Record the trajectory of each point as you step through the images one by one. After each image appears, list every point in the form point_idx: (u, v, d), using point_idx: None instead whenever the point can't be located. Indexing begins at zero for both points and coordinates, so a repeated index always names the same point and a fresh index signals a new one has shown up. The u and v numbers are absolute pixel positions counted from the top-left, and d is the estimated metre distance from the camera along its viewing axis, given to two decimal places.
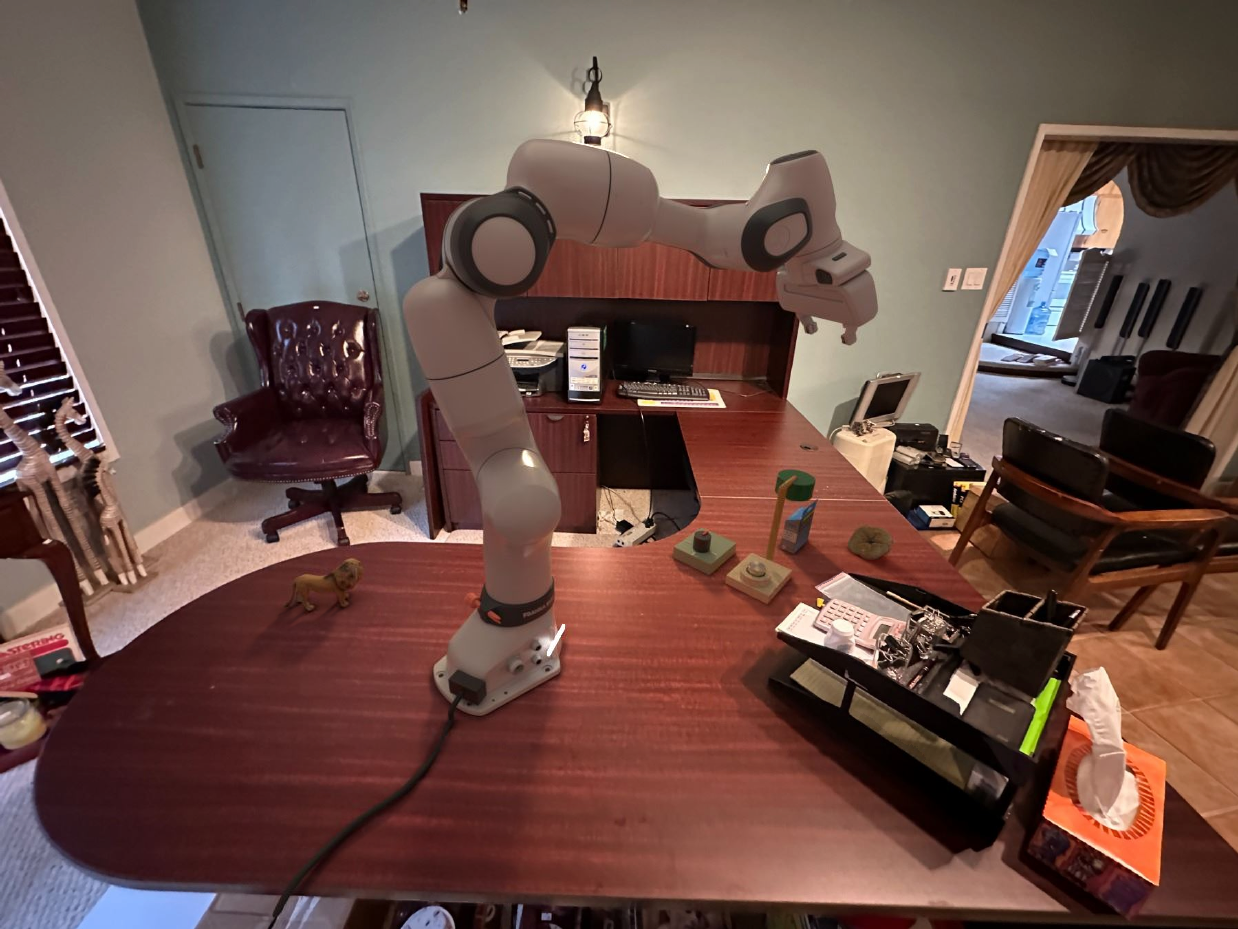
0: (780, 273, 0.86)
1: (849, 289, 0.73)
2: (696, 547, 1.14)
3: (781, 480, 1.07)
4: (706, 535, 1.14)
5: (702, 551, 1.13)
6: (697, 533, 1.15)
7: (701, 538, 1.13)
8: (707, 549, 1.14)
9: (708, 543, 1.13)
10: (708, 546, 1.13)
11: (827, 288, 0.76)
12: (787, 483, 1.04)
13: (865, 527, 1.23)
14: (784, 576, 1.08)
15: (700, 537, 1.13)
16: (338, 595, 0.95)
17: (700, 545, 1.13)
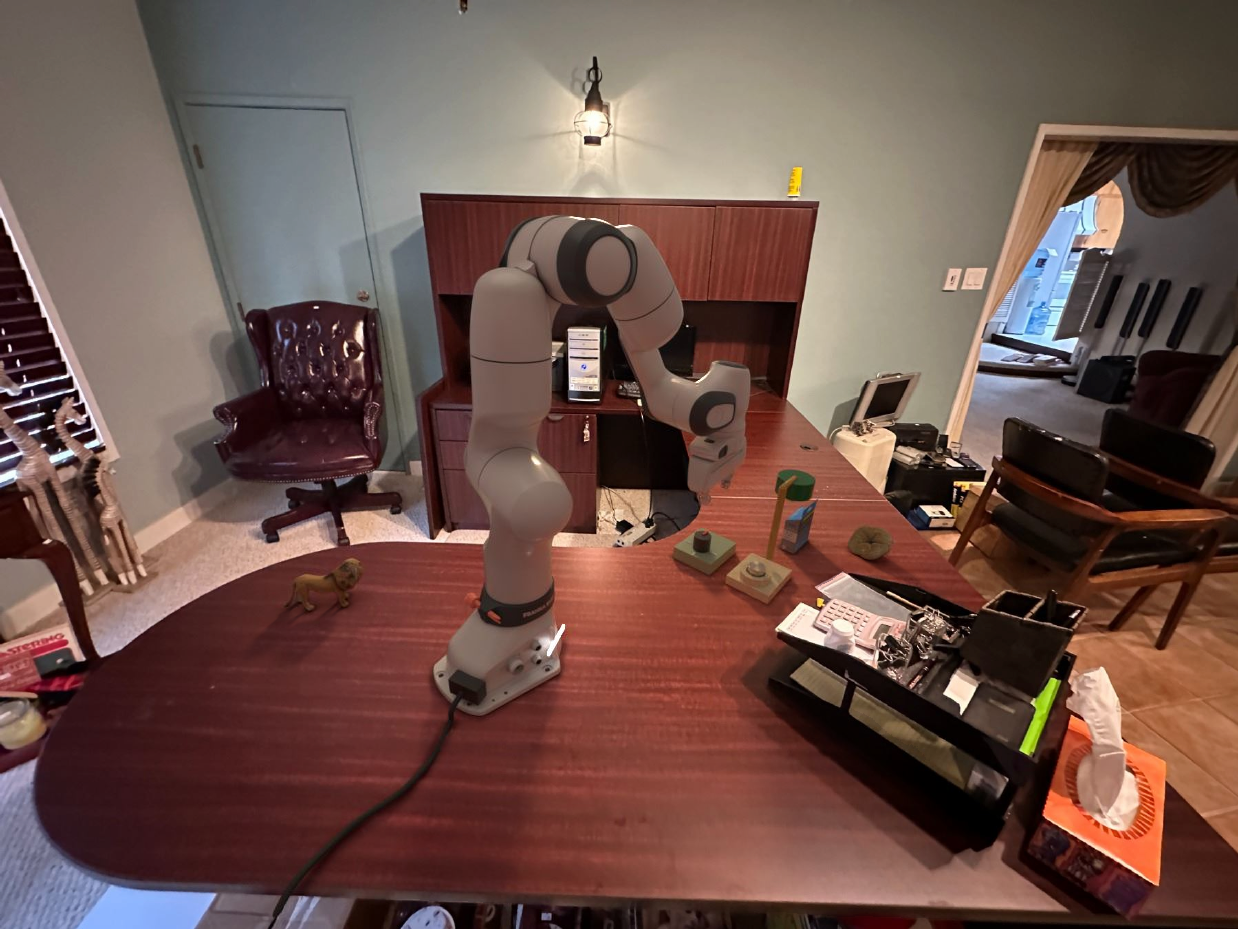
0: None
1: (691, 461, 0.99)
2: (696, 547, 1.14)
3: (781, 480, 1.07)
4: (706, 535, 1.14)
5: (702, 551, 1.13)
6: (697, 533, 1.15)
7: (701, 538, 1.13)
8: (707, 549, 1.14)
9: (708, 543, 1.13)
10: (708, 546, 1.13)
11: None
12: (787, 483, 1.04)
13: (865, 527, 1.23)
14: (784, 576, 1.08)
15: (700, 537, 1.13)
16: (338, 595, 0.96)
17: (700, 545, 1.13)
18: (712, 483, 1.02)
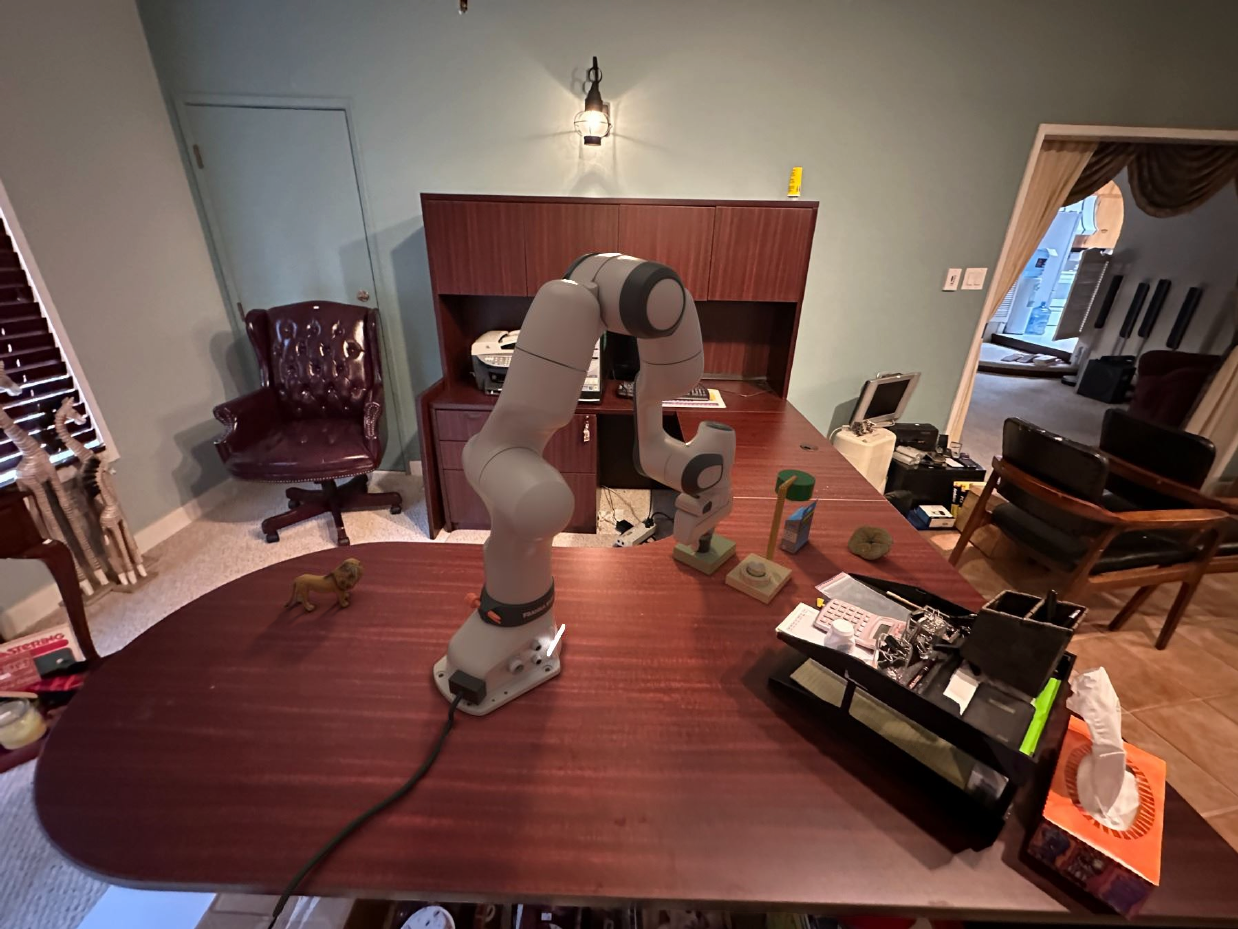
0: None
1: (677, 514, 1.05)
2: None
3: (781, 480, 1.07)
4: (706, 535, 1.14)
5: (702, 551, 1.13)
6: None
7: (701, 538, 1.13)
8: (707, 549, 1.14)
9: (708, 543, 1.13)
10: (708, 546, 1.13)
11: None
12: (787, 483, 1.04)
13: (865, 527, 1.23)
14: (784, 576, 1.08)
15: (700, 537, 1.13)
16: (338, 595, 0.96)
17: None
18: (697, 535, 1.07)
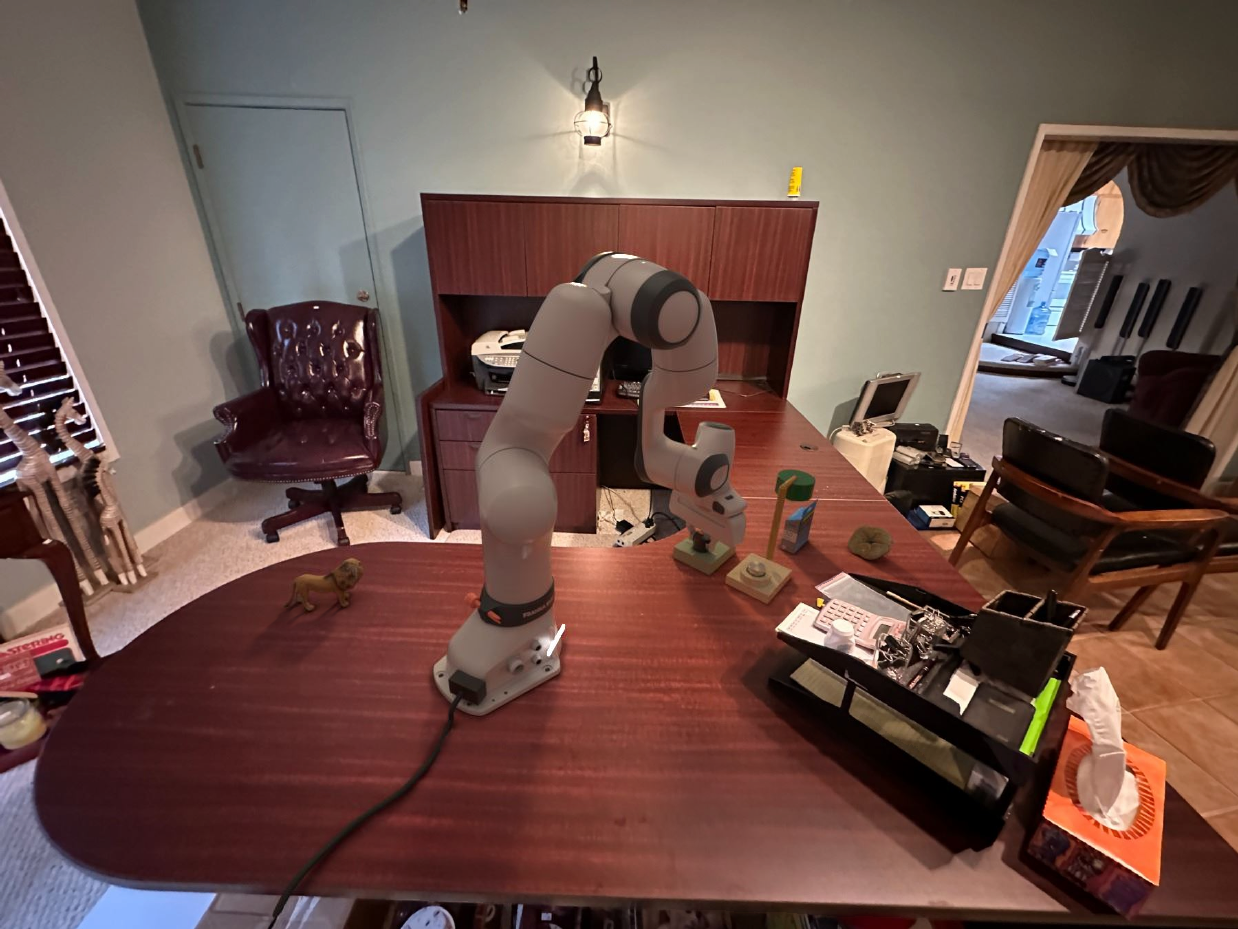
0: None
1: (733, 522, 1.03)
2: None
3: (781, 480, 1.07)
4: (703, 533, 1.15)
5: None
6: (698, 537, 1.13)
7: (708, 537, 1.13)
8: None
9: None
10: None
11: (717, 515, 1.05)
12: (787, 483, 1.04)
13: (865, 527, 1.23)
14: (784, 576, 1.08)
15: (706, 537, 1.13)
16: (338, 595, 0.96)
17: None
18: None
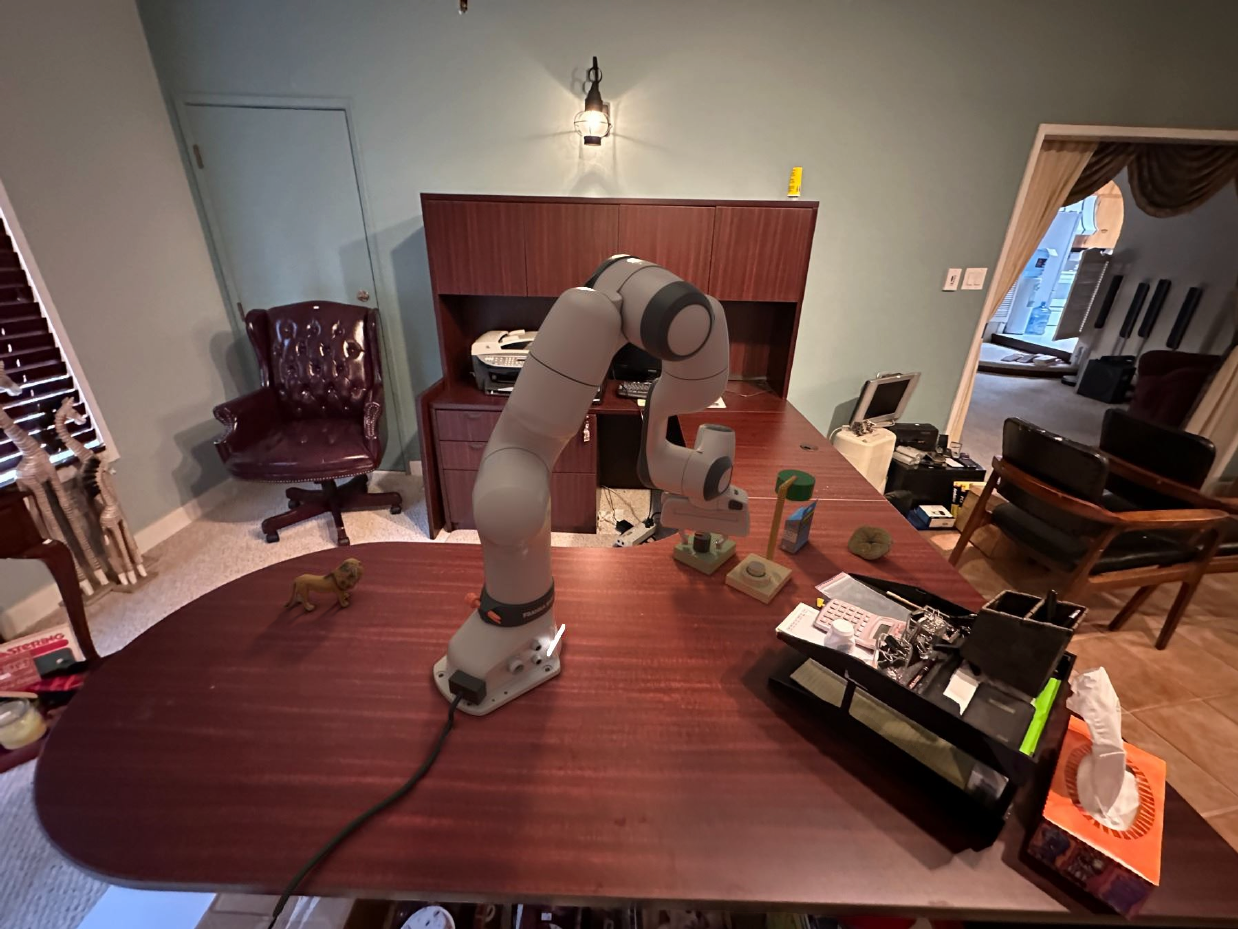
0: (673, 500, 1.10)
1: (749, 513, 1.08)
2: None
3: (781, 480, 1.07)
4: None
5: None
6: (702, 538, 1.13)
7: (709, 535, 1.14)
8: None
9: None
10: None
11: (732, 512, 1.07)
12: (787, 483, 1.04)
13: (865, 527, 1.23)
14: (784, 576, 1.08)
15: (707, 535, 1.14)
16: (338, 595, 0.96)
17: None
18: None
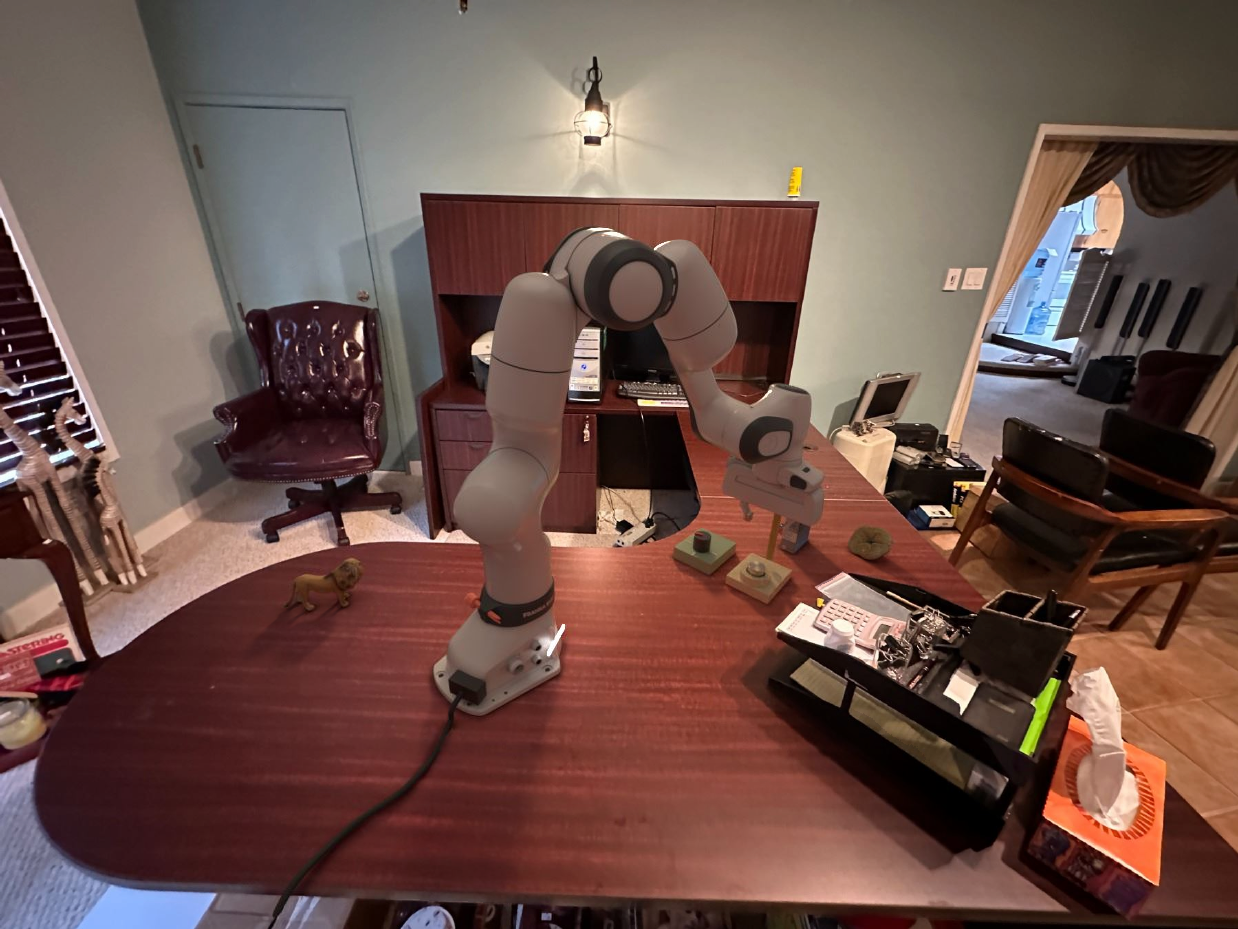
0: (736, 465, 1.00)
1: (815, 497, 0.91)
2: None
3: None
4: None
5: None
6: (702, 538, 1.13)
7: (709, 535, 1.14)
8: None
9: None
10: None
11: (795, 491, 0.92)
12: None
13: (865, 527, 1.23)
14: (784, 576, 1.08)
15: (707, 535, 1.14)
16: (338, 595, 0.96)
17: None
18: None
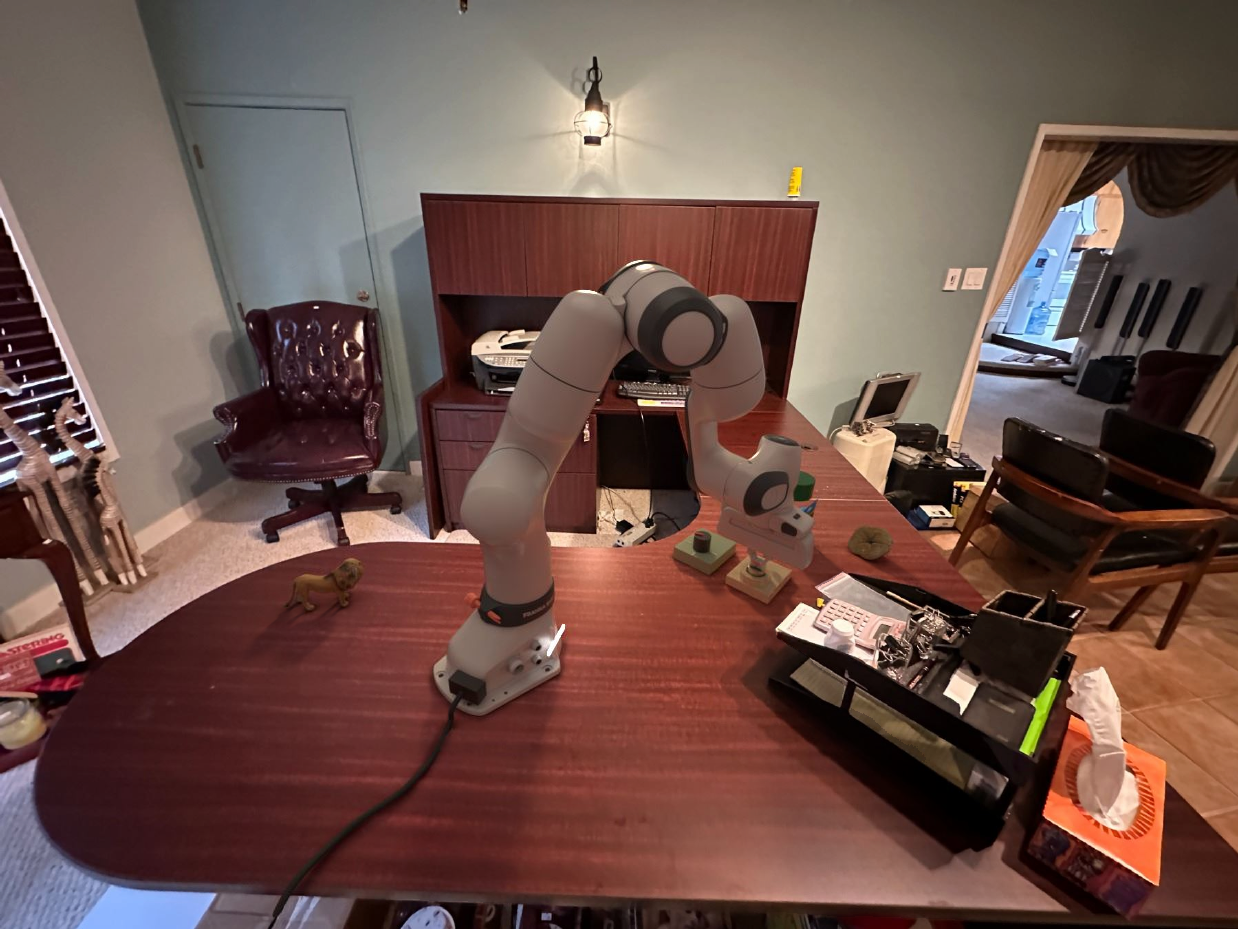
0: (730, 509, 1.04)
1: (805, 543, 0.95)
2: None
3: None
4: None
5: None
6: (702, 538, 1.13)
7: (709, 535, 1.14)
8: None
9: None
10: None
11: (786, 537, 0.96)
12: None
13: (865, 527, 1.23)
14: (784, 576, 1.08)
15: (707, 535, 1.14)
16: (338, 595, 0.96)
17: None
18: None
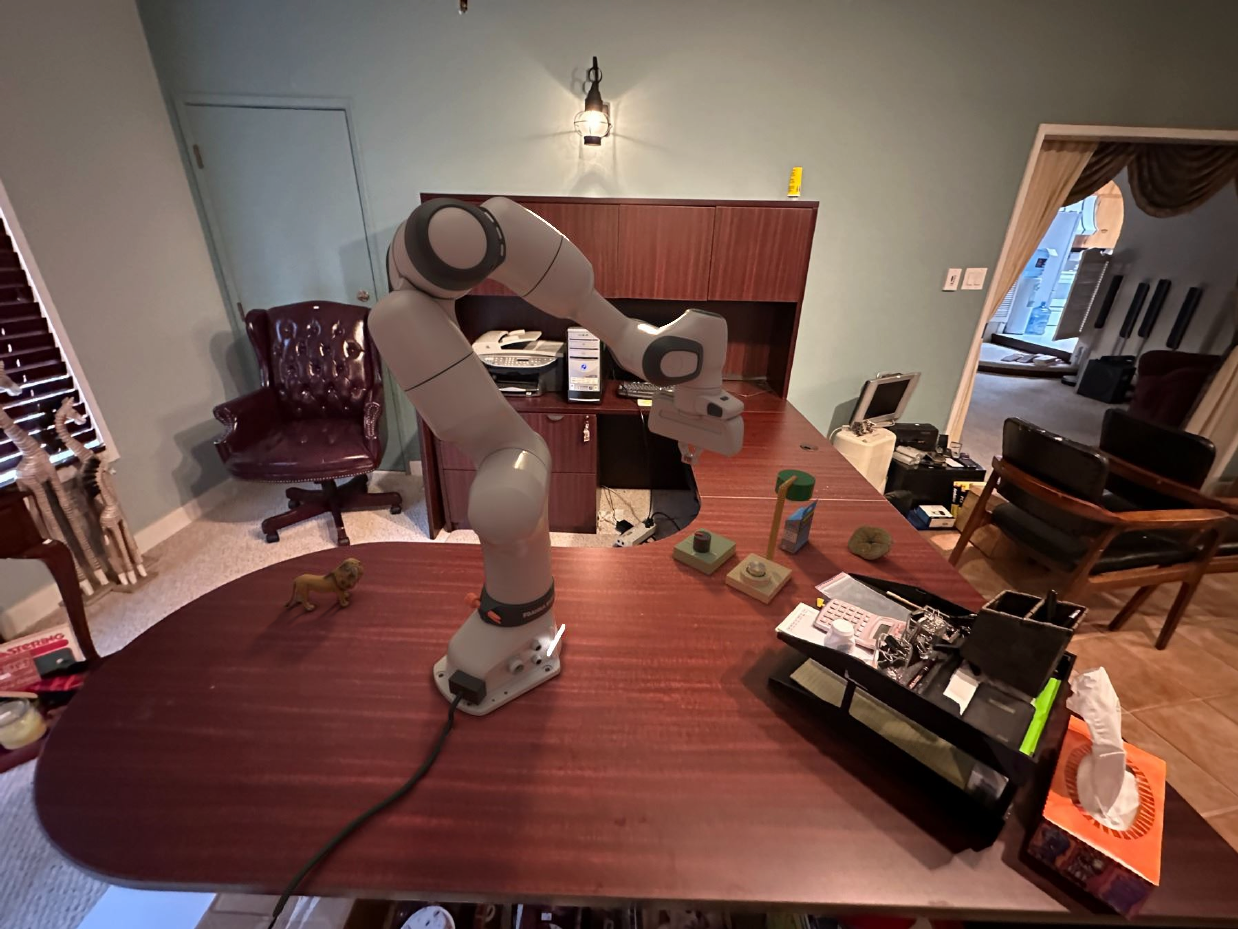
0: (659, 400, 0.99)
1: (732, 425, 0.89)
2: None
3: (781, 480, 1.07)
4: None
5: None
6: (702, 538, 1.13)
7: (709, 535, 1.14)
8: None
9: None
10: None
11: (712, 420, 0.91)
12: (787, 483, 1.04)
13: (865, 527, 1.23)
14: (784, 576, 1.08)
15: (707, 535, 1.14)
16: (338, 595, 0.96)
17: None
18: None
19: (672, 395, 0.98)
